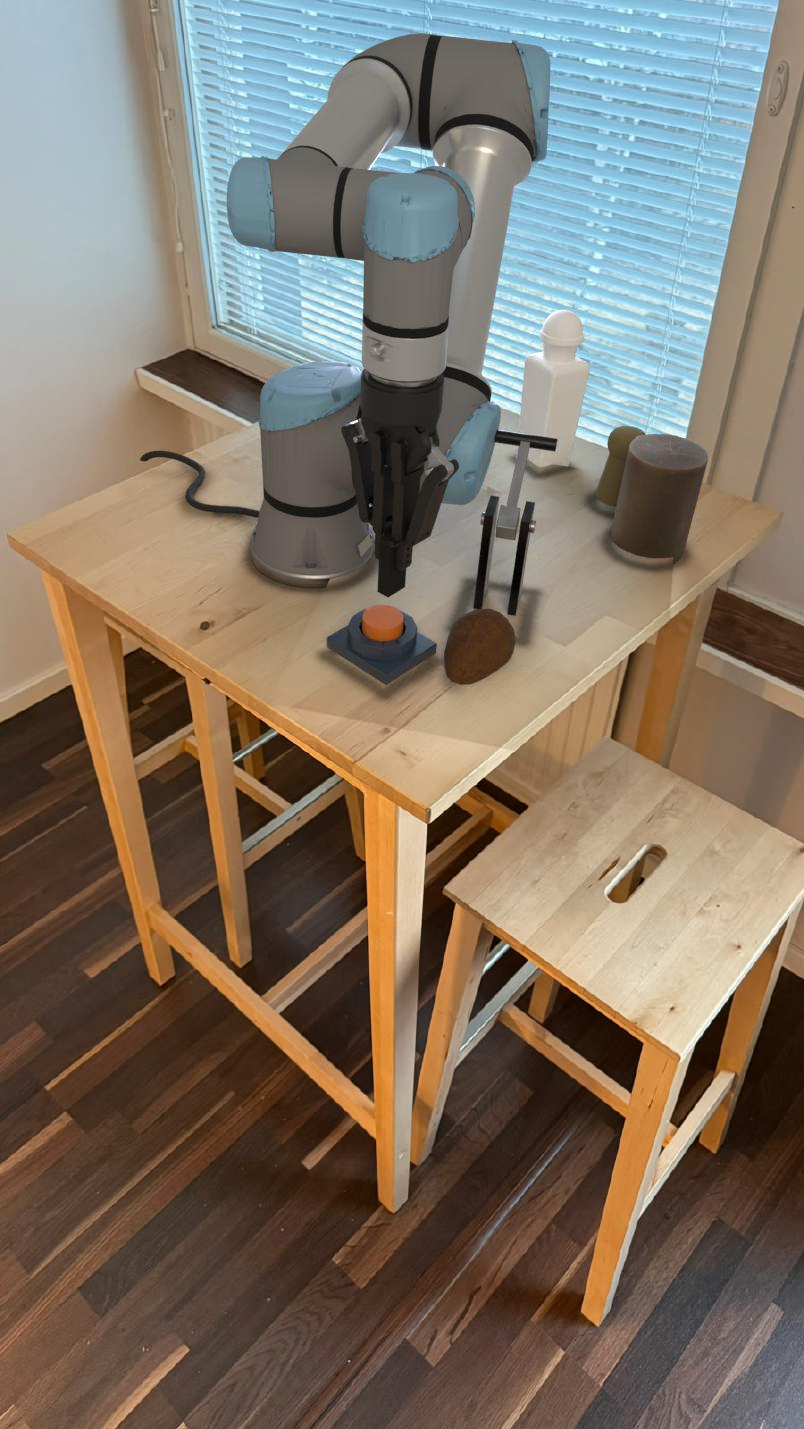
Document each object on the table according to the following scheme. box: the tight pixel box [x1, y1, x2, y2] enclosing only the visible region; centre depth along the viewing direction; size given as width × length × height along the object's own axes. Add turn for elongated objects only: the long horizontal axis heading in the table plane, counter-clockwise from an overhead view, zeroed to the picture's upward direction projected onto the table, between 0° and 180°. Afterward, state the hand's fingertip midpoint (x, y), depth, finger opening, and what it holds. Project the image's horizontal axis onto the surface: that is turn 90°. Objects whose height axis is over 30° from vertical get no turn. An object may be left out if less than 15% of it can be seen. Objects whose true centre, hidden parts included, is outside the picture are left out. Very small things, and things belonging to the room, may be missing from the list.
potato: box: [443, 608, 516, 686], centre depth 111 cm, size 7×10×7 cm
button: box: [362, 604, 404, 642], centre depth 110 cm, size 4×4×2 cm
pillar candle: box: [609, 433, 709, 564], centre depth 128 cm, size 10×10×15 cm
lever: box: [495, 429, 558, 541], centre depth 115 cm, size 13×7×2 cm, turn 166°
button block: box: [326, 608, 438, 686], centre depth 112 cm, size 9×8×4 cm
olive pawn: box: [594, 425, 647, 507], centre depth 138 cm, size 6×6×11 cm
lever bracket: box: [472, 495, 537, 617], centre depth 117 cm, size 10×8×14 cm
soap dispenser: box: [515, 309, 591, 468], centre depth 142 cm, size 6×6×22 cm
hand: (391, 589), depth 107 cm, fingers closed
